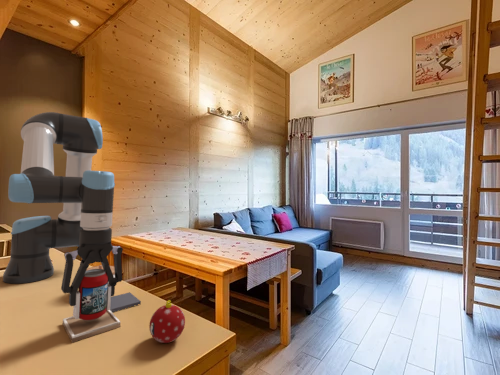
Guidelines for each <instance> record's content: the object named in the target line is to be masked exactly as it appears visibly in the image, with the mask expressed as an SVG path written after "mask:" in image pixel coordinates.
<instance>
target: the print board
mask: <svg viewBox="0 0 500 375" xmlns="http://www.w3.org/2000/svg"><path fill="white" fill-rule="evenodd" d="M62 326H63V327H64V329H65V332H66V333H67V335H68V337H69V339H70V341H71V343H75V342H78V340H79V341H81V340H84V339H87V338H91V337H94V336H97V335H99V334H103V333H105V332H108V331H112V330H115V329H118V328H121V321H120V319H119V318H118V317H117V316H116V315H115V314H114V312H111V311H110V310H106V313H105V314H104V315H102V316H101V317H100V318H98V319H95V320H90V321H85V320H82V319H80V318H78V319H75V318H74V316H69V317H64V318H62Z"/></svg>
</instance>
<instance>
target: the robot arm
mask: <svg viewBox="0 0 500 375" xmlns="http://www.w3.org/2000/svg"><path fill="white" fill-rule="evenodd" d="M20 137H21V139H22V141H23V147H22V148H23V149H22V156H21V166H20V167H21V168H20V173H13V174H11V175H10V176H9V179H8V196H7V197H8V200H9V201H10V202H12V203H26V204H54V203H57V204H59V203H60V204H61V203H62V204H63V206H62V211H61V212H60V213H58V216H57V218H56V219H54V218H52V216H50V215H40V216H39V215H38V216H31V217H25V218H23V217H22V218H20V219H16V220H15V221H14V222H13V223H12V226H11V232H10V235H11V242H10V245H11V246H10V259H9V261H8V263H7V266H6V268H5V270H4V271H3V275H2V276H3V277H2V282H4V283H6V284H26V283H32V282H33V283H34V282H38V281H42V280H45V279H48V278H50V277H52V276H53V275H54V273H55V271H54V270H55V267H54V265H53V262H52V259H51V256H50V249H58V248H70V247H77V248H76V250H73V251H70V252H69V251H67V252H64V260H65V263H64V269H63V274H62V280H61V288H60V289H61V291H62V293H63V294H69V297H68V299H69V300H68V304H69V305H70V306H71V307H73V308H72V309H73V310H72V312H73V313H72V315H73V316H74V318H75V319H78V318H79V308H80V292H79V286H80V284H81V281H82V279H83V277H84V274H85V272H86V270H87V269H88V268H90V264H94V263H100V265H102V266H103V269H104V270H105V271H106V274H107V275H108V282H109V284H108V291H107V308H106V310H110V302H111V297H113V296H115V294H116V292H115V290H116V289H115V288H116V285H117V284H118V283H121V282H122V281H123V266H122V265H123V264H122V254H123V250H124V248H123V247H121V246H120V245H116V246H115V245H113V244H112V239H113V238H112V236H113V235H112V234H113V229H112V228H111V227H112V226H113V213H114V210H113V209H114V195H115V185H116V183H115V174H114V172H111V171H105V170H92V164H93V157H94V156H96V155H97V154H98V150H102V149H103V141H104V140H103V139H104V138H103V137H104V136H103V130H102V126H101V123H100V122H99V121H98V120H97V119H93V118H90V117H83V116H78V115H77V116H76V115H71V114H70V115H69V114H67V113H66V114H64V113H59V112H55V111H45V112H42V113H38V114H36V115H33V116H31V117H29V118H28V119H26V120H25V122H24V123H23V124H22V126H21V129H20ZM55 144H56V145H60V146H61V145H62V150H63V151H64V153H66V164H65V165H66V166H65V176H64V175H61V176H60V175H55V162H54V161H55V160H54V159H55V158H54V145H55ZM111 252H112V254H113V266H114V270H115V277H113V274H112V271H111V268H110V266H111V265H110V262H109V259H108V256H109V255H110V253H111ZM77 256H79V257H80V258H81V260H80V262H79V267H78V269H77V270H76V273H75V275H74V277H73V280H72V282H71V279H72V274H73V268H74V261H75V260H76V258H77Z"/></svg>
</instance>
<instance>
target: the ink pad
mask: <svg viewBox="0 0 500 375" xmlns="http://www.w3.org/2000/svg"><path fill="white" fill-rule="evenodd" d="M138 304H140V305H141V300H140V299H139V298H138V297H136V296H135V295H133V293H131V292H126V293H121V294H117V295H114V296H111V302H110V311H111V312H112V313H114V312H115V311H116V312H118V310H119V311H122V309H123V310H125V308H126V309H129V308H128V307H130V308H132V307H131V306H133V307H135V306H134V305H136V306H139V305H138Z"/></svg>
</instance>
